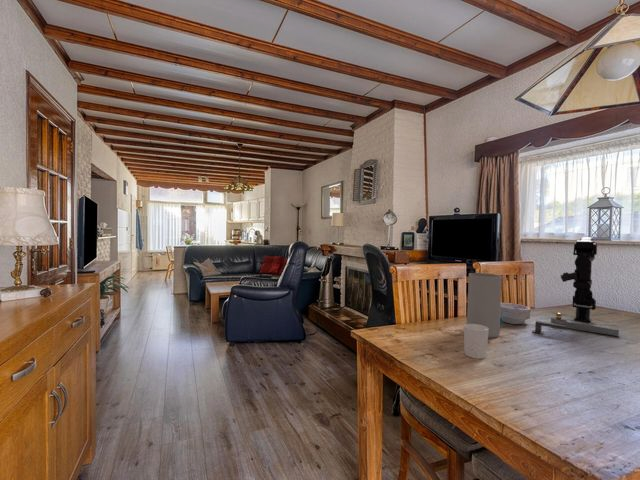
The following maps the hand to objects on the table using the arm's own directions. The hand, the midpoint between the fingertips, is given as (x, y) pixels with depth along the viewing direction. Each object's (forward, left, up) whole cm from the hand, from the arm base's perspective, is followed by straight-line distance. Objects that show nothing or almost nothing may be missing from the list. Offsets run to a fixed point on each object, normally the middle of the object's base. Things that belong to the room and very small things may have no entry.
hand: (581, 301), depth 157 cm
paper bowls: (+14, -26, -12) cm, 32 cm away
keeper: (+26, -10, -12) cm, 30 cm away
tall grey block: (+45, -31, -12) cm, 56 cm away
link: (+7, +1, -12) cm, 14 cm away
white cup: (+74, -26, -12) cm, 79 cm away
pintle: (+7, -8, -12) cm, 16 cm away
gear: (+30, -32, -12) cm, 46 cm away
